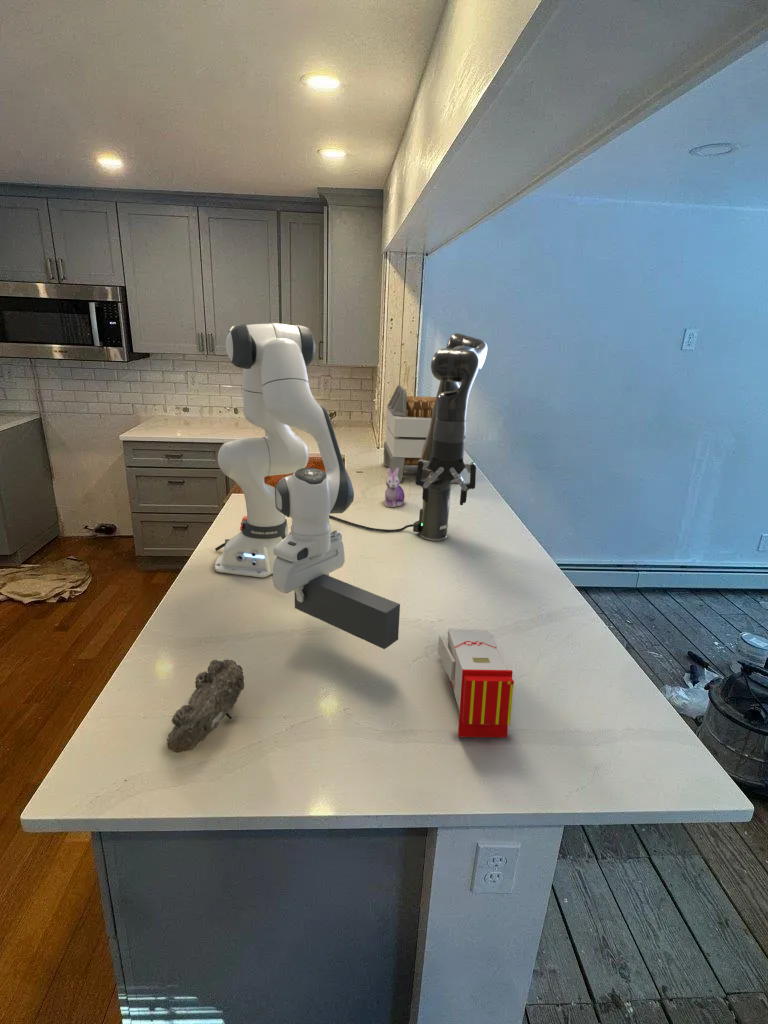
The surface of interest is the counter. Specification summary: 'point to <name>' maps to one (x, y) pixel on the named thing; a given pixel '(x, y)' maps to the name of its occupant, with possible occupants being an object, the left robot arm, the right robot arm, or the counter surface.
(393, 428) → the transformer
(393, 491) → the figurine
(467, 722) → the toy
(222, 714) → the fossil
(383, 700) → the counter surface
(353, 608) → the bar
